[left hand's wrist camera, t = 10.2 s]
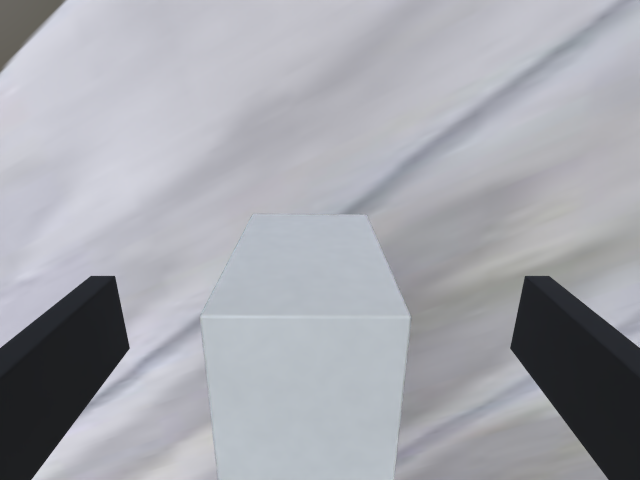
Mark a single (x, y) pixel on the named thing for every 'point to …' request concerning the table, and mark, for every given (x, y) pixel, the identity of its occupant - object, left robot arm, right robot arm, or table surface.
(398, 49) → the table surface
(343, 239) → the bar
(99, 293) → the left robot arm
